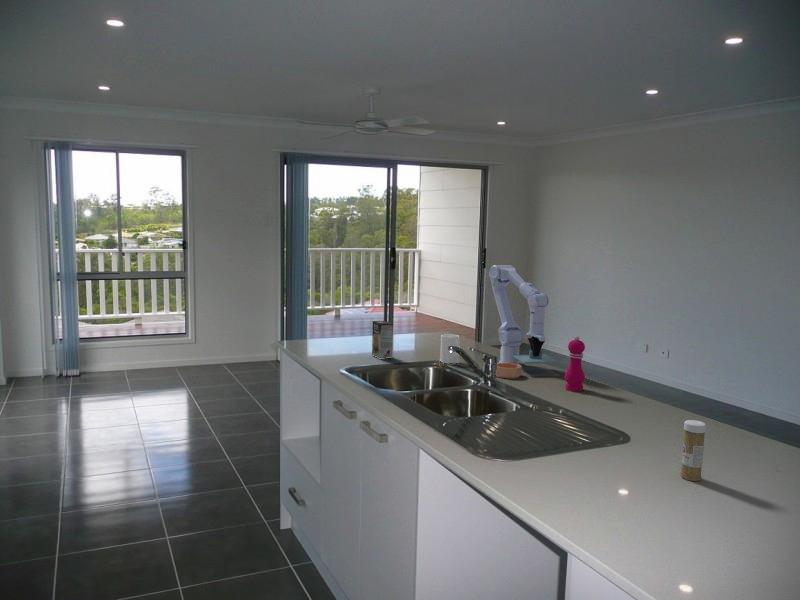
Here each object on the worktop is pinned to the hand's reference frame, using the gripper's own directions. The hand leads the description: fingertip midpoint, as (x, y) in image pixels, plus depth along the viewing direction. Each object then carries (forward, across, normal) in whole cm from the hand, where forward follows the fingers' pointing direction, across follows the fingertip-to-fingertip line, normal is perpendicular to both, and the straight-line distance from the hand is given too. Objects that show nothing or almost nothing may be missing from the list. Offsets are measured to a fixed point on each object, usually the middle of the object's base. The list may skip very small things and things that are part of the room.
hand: (535, 355), depth 254 cm
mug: (+7, -19, -31) cm, 37 cm away
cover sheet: (+2, 0, 0) cm, 2 cm away
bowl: (+7, +7, -14) cm, 17 cm away
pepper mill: (+7, +28, +5) cm, 29 cm away
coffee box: (+8, -32, -60) cm, 68 cm away
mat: (+7, 0, 0) cm, 7 cm away
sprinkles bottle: (+7, +111, -2) cm, 111 cm away
